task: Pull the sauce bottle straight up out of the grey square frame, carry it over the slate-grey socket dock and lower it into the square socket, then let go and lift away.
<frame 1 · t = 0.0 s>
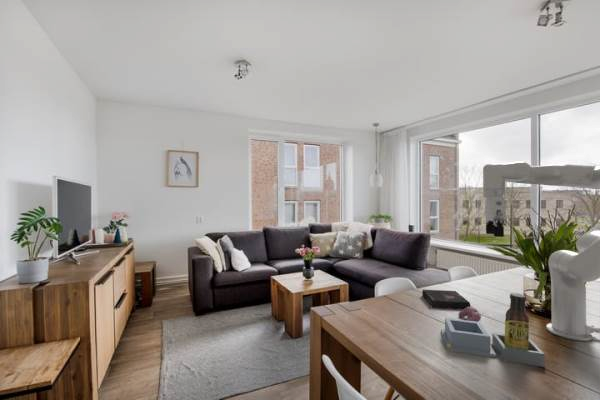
hand: (494, 235, 113), 37 cm above the table, tool pointing down, fingers open, 9 cm apart
socket dock: (466, 343, 98), on the table
video game controller: (469, 322, 116), on the table
sauce bottle: (516, 355, 91), resting in grey square frame
portable cd player: (445, 303, 138), on the table
grey square frame: (516, 354, 91), on the table
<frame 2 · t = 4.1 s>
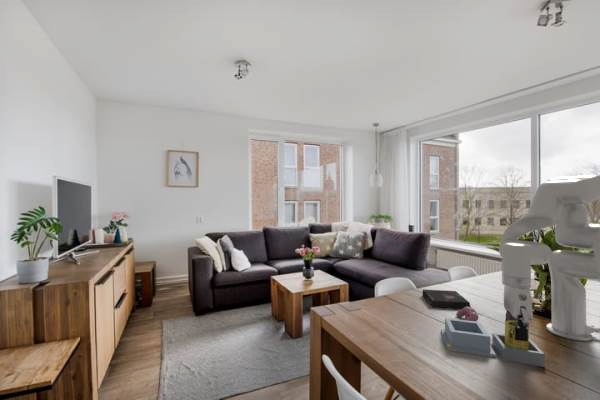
hand: (516, 334, 91), 7 cm above the table, tool pointing down, fingers closed on sauce bottle, 6 cm apart
sauce bottle: (516, 355, 91), resting in grey square frame, touching gripper
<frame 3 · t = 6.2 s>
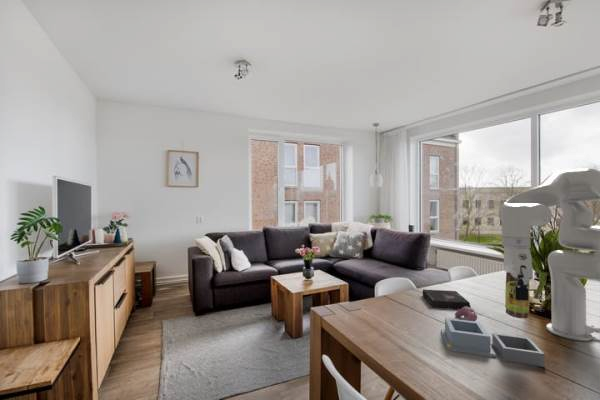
hand: (517, 295, 91), 19 cm above the table, tool pointing down, fingers closed on sauce bottle, 6 cm apart
sauce bottle: (517, 316, 91), point 13 cm above the table, touching gripper
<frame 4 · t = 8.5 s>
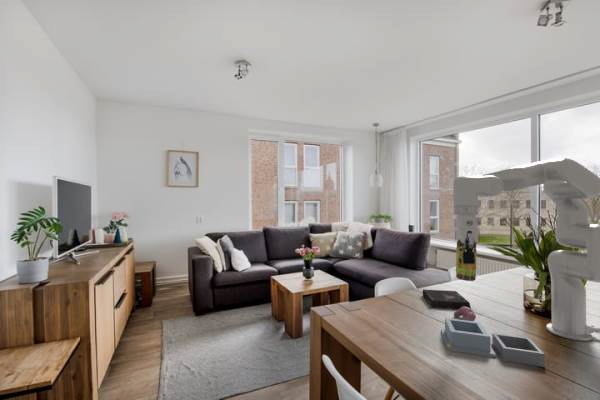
hand: (466, 260, 98), 30 cm above the table, tool pointing down, fingers closed on sauce bottle, 6 cm apart
sauce bottle: (466, 279, 98), point 23 cm above the table, touching gripper
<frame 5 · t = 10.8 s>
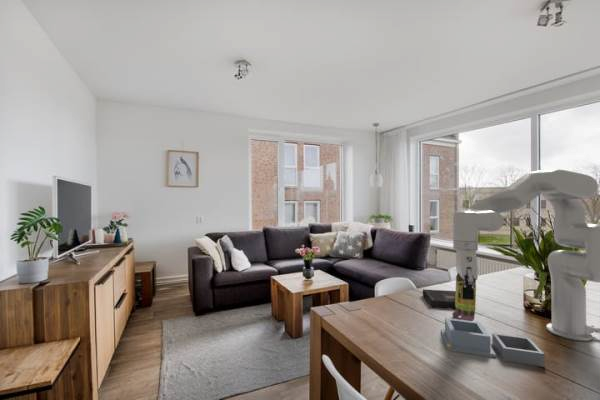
hand: (465, 295, 98), 17 cm above the table, tool pointing down, fingers closed on sauce bottle, 6 cm apart
sauce bottle: (465, 314, 98), point 10 cm above the table, touching gripper
when the fingers open (8 cm above the table, at t = 13.0 s): sauce bottle stays where it is, resting on socket dock.
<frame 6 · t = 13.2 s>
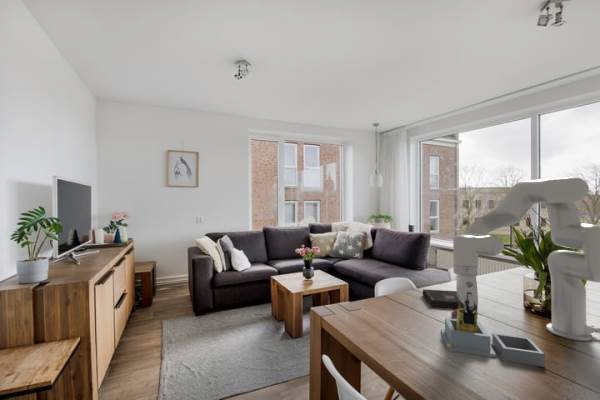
hand: (465, 318, 98), 9 cm above the table, tool pointing down, fingers open, 7 cm apart
sauce bottle: (466, 341, 98), point 1 cm above the table, touching socket dock
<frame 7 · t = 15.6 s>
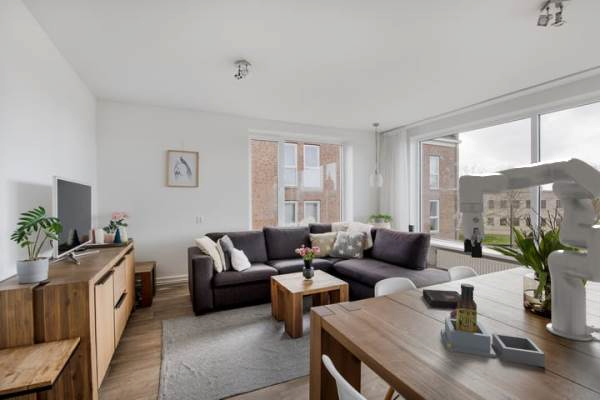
hand: (472, 254, 101), 31 cm above the table, tool pointing down, fingers open, 9 cm apart
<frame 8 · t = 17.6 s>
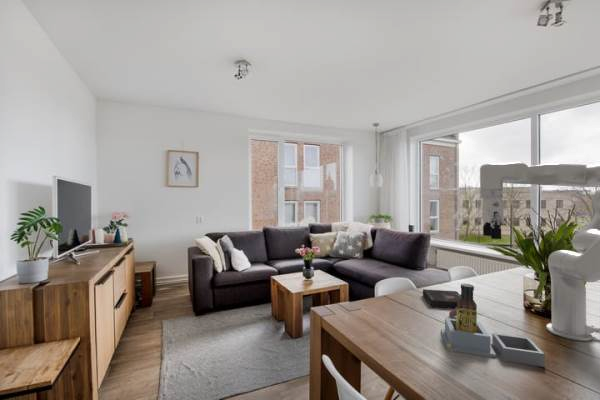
hand: (491, 237, 110), 36 cm above the table, tool pointing down, fingers open, 9 cm apart
at the end: sauce bottle 0.2 cm off-centre on the socket dock, point 0.8 cm above the socket dock's base; sauce bottle tilted 0°; the gripper is holding nothing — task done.
